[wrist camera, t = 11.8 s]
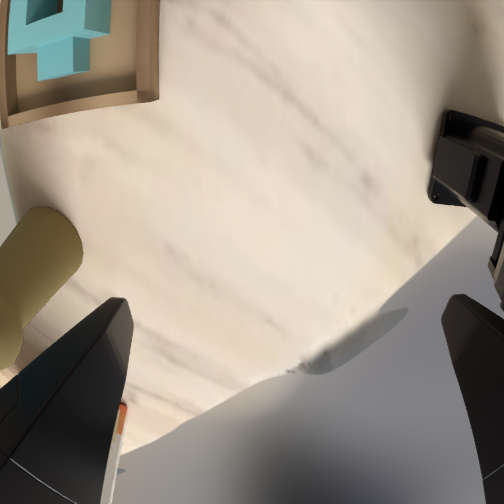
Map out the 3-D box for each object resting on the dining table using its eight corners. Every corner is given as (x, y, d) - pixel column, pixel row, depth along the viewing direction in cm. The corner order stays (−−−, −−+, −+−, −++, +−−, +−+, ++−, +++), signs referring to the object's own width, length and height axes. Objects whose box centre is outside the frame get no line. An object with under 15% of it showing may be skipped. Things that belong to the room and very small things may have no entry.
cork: (11, 210, 19) (-80, 300, 9) (71, 202, 19) (-27, 309, 9) (34, 276, 22) (-31, 375, 12) (92, 276, 22) (31, 395, 12)
